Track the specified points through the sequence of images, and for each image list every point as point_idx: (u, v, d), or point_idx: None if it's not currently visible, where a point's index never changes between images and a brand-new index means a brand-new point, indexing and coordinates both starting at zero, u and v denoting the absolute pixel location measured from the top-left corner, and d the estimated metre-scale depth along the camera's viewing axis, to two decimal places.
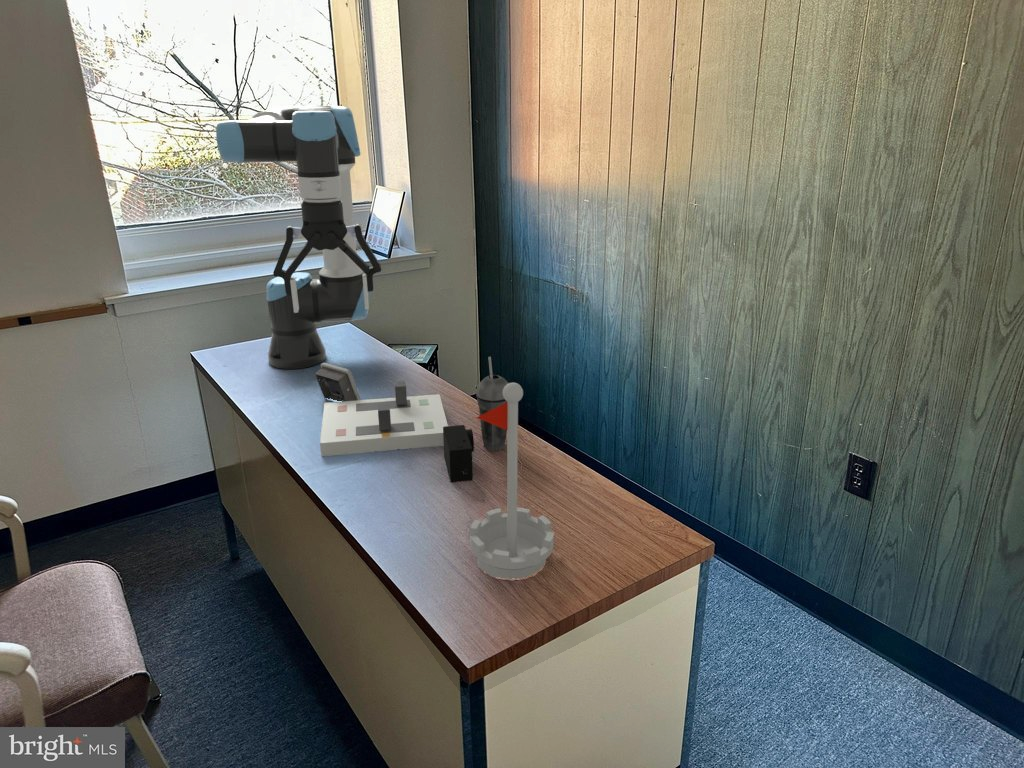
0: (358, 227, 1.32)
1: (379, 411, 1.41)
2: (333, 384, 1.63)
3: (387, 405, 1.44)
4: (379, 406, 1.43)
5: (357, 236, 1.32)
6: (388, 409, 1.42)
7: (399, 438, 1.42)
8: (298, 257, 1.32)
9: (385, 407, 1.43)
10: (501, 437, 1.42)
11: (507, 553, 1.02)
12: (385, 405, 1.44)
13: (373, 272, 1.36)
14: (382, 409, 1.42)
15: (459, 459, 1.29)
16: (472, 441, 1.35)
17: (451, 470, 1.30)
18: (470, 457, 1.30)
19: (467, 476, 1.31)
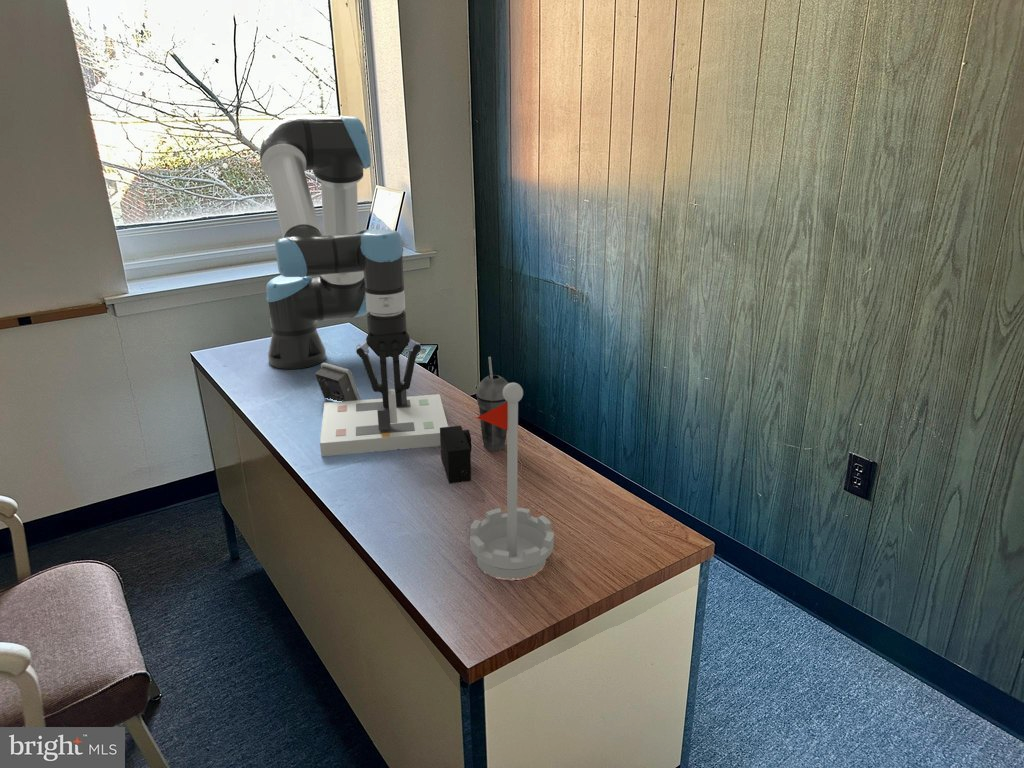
0: (419, 347, 1.38)
1: (378, 411, 1.41)
2: (333, 384, 1.63)
3: None
4: (378, 406, 1.43)
5: (412, 353, 1.39)
6: (387, 409, 1.42)
7: (399, 438, 1.42)
8: (382, 371, 1.39)
9: None
10: (501, 437, 1.42)
11: (507, 553, 1.02)
12: None
13: (401, 391, 1.42)
14: (381, 409, 1.42)
15: (457, 460, 1.29)
16: (469, 442, 1.35)
17: (449, 471, 1.29)
18: (468, 458, 1.29)
19: (465, 477, 1.31)
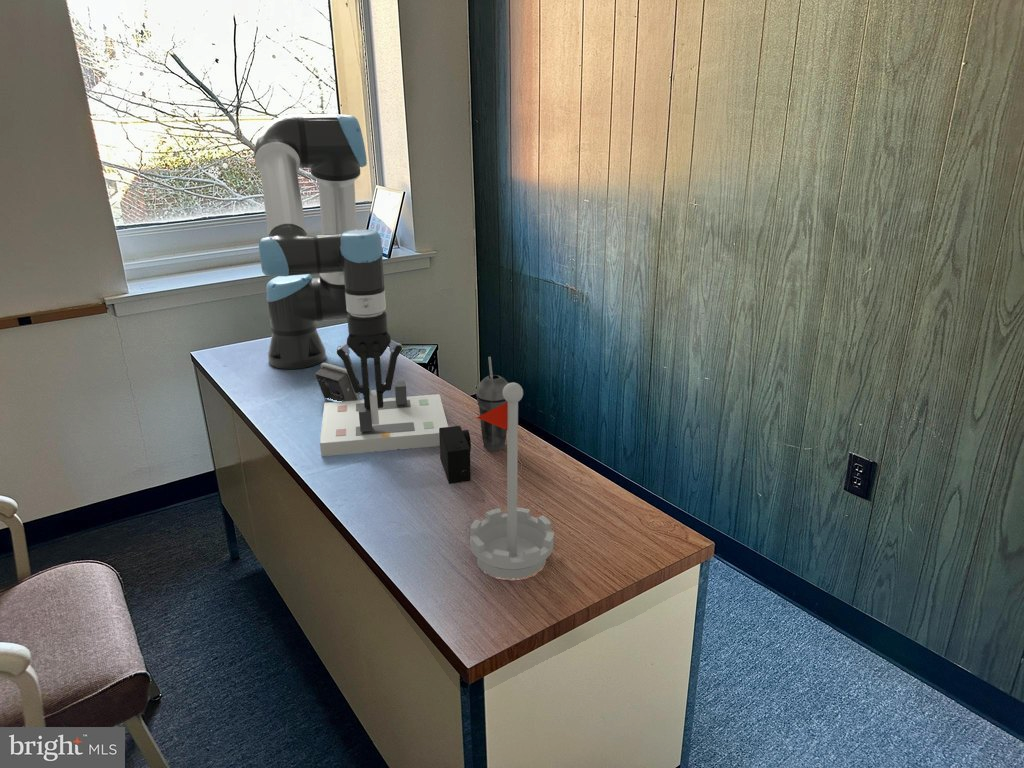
0: (400, 348, 1.38)
1: (360, 413, 1.41)
2: (333, 384, 1.63)
3: None
4: (360, 407, 1.42)
5: (393, 354, 1.38)
6: (369, 410, 1.41)
7: (399, 438, 1.42)
8: (363, 372, 1.38)
9: None
10: (501, 437, 1.42)
11: (507, 553, 1.02)
12: None
13: (382, 393, 1.41)
14: (363, 410, 1.41)
15: (457, 460, 1.29)
16: (469, 442, 1.35)
17: (449, 471, 1.29)
18: (468, 458, 1.29)
19: (465, 477, 1.31)
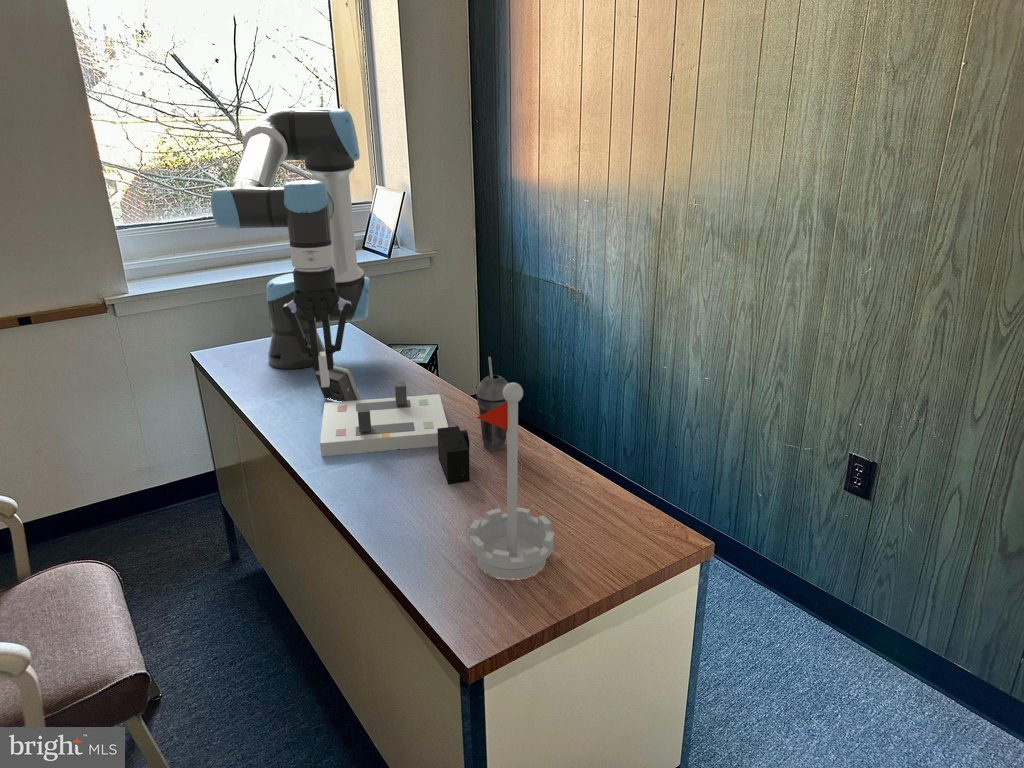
0: (349, 306, 1.32)
1: (359, 413, 1.41)
2: (333, 384, 1.63)
3: (367, 407, 1.43)
4: (359, 408, 1.42)
5: (342, 312, 1.32)
6: (368, 411, 1.41)
7: (399, 438, 1.42)
8: (310, 331, 1.32)
9: (365, 409, 1.42)
10: (501, 437, 1.42)
11: (507, 553, 1.02)
12: (365, 407, 1.43)
13: (332, 353, 1.35)
14: (362, 411, 1.41)
15: (456, 461, 1.29)
16: (468, 442, 1.34)
17: (448, 472, 1.29)
18: (467, 458, 1.29)
19: (464, 477, 1.31)
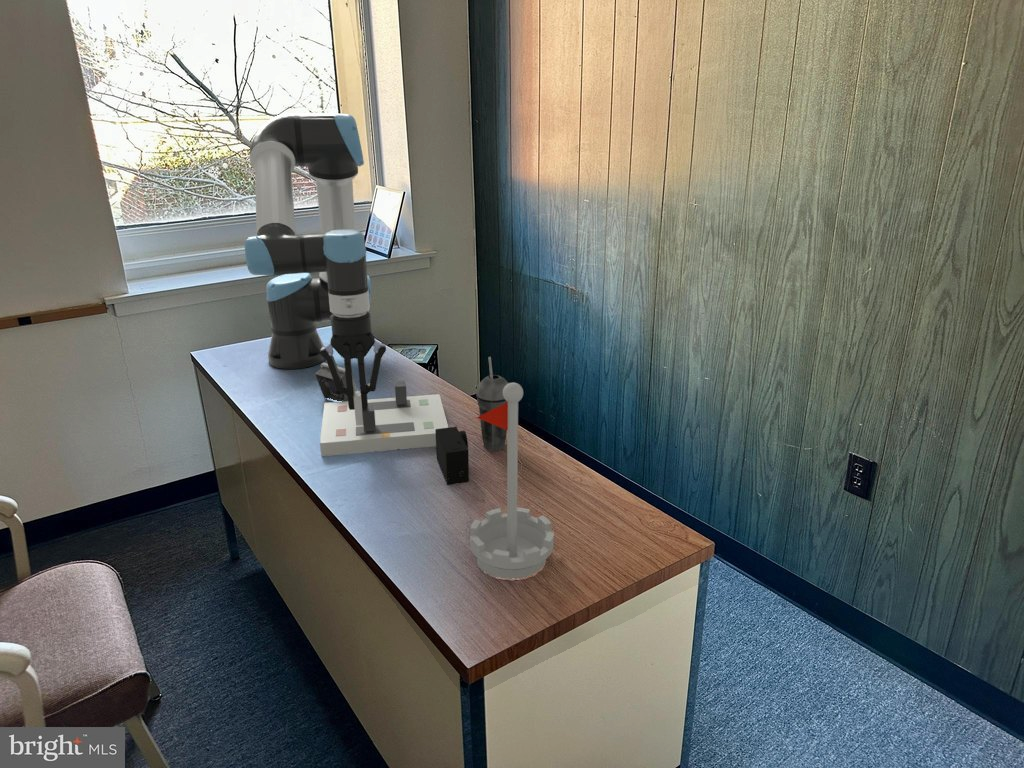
0: (384, 349, 1.37)
1: (363, 412, 1.41)
2: (333, 384, 1.63)
3: (372, 406, 1.43)
4: None
5: (377, 354, 1.37)
6: (373, 410, 1.41)
7: (399, 438, 1.42)
8: (346, 373, 1.37)
9: (370, 408, 1.42)
10: (501, 437, 1.42)
11: (507, 553, 1.02)
12: (370, 406, 1.43)
13: (366, 393, 1.40)
14: (366, 410, 1.41)
15: (455, 461, 1.28)
16: (466, 442, 1.34)
17: (448, 472, 1.29)
18: (466, 459, 1.29)
19: (463, 478, 1.30)
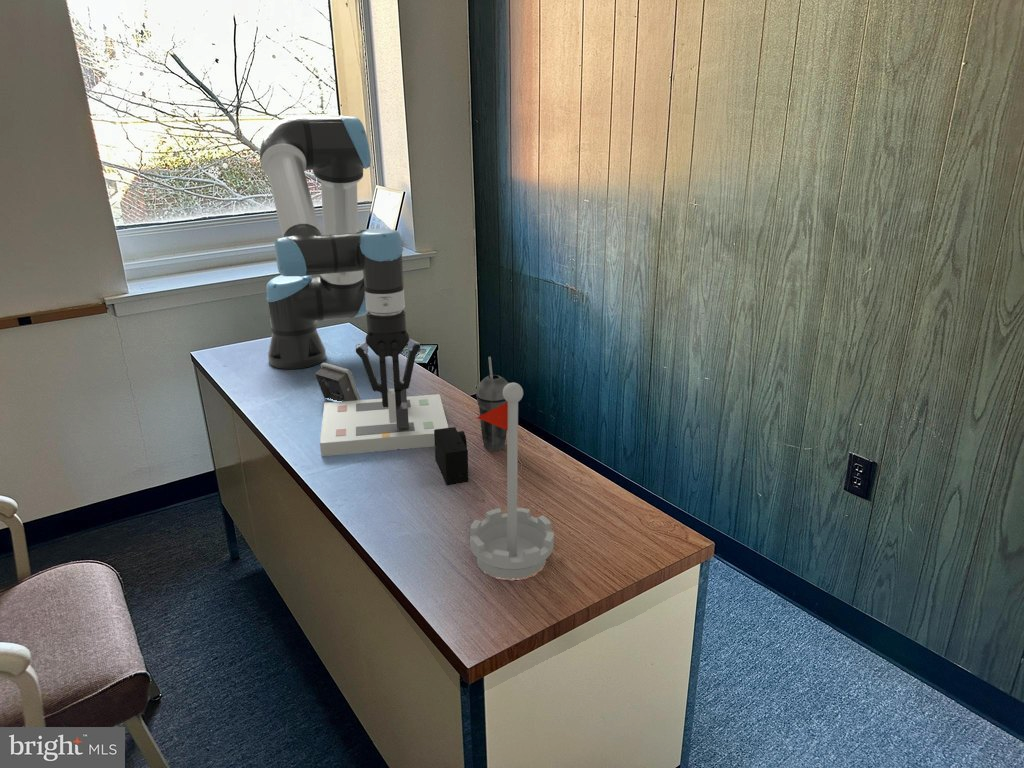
0: (418, 347, 1.38)
1: (397, 410, 1.42)
2: (333, 384, 1.63)
3: (405, 404, 1.44)
4: None
5: (412, 352, 1.38)
6: (406, 408, 1.43)
7: (399, 438, 1.42)
8: (381, 370, 1.38)
9: (403, 406, 1.43)
10: (501, 437, 1.42)
11: (507, 553, 1.02)
12: (403, 404, 1.44)
13: (400, 391, 1.41)
14: (400, 408, 1.42)
15: (455, 461, 1.28)
16: (465, 443, 1.34)
17: (447, 473, 1.29)
18: (466, 459, 1.29)
19: (463, 478, 1.30)
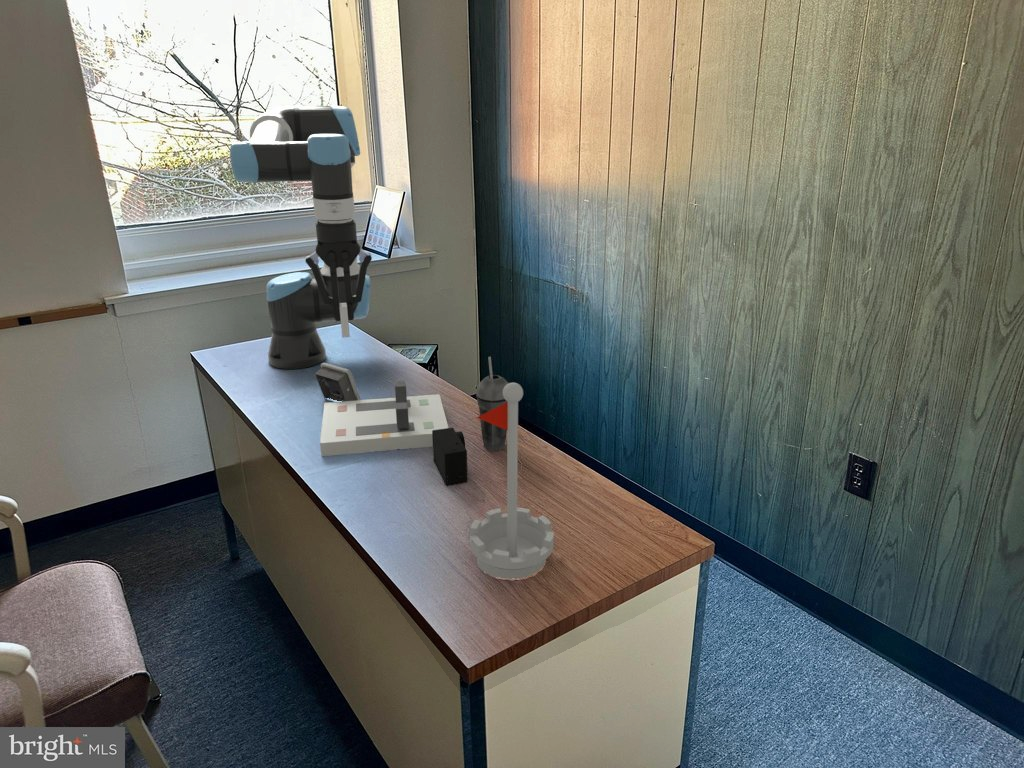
0: (369, 258, 1.37)
1: (397, 410, 1.42)
2: (333, 384, 1.63)
3: (405, 404, 1.44)
4: (397, 405, 1.44)
5: (363, 263, 1.37)
6: (406, 408, 1.43)
7: (399, 438, 1.42)
8: (332, 282, 1.37)
9: (403, 406, 1.43)
10: (501, 437, 1.42)
11: (507, 553, 1.02)
12: (403, 404, 1.44)
13: (352, 304, 1.40)
14: (400, 408, 1.42)
15: (454, 462, 1.28)
16: (463, 443, 1.34)
17: (446, 473, 1.29)
18: (465, 459, 1.29)
19: (462, 479, 1.30)
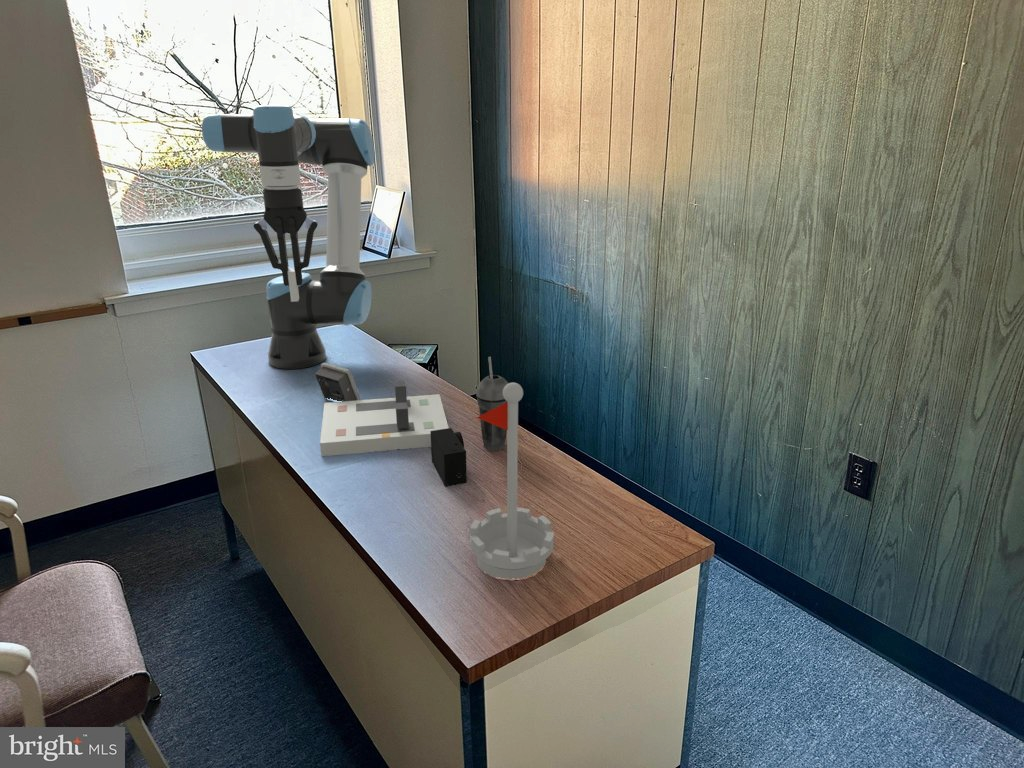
0: (315, 224, 1.44)
1: (397, 410, 1.42)
2: (333, 384, 1.63)
3: (405, 404, 1.44)
4: (397, 405, 1.44)
5: (309, 229, 1.44)
6: (406, 408, 1.43)
7: (399, 438, 1.42)
8: (280, 247, 1.44)
9: (403, 406, 1.43)
10: (501, 437, 1.42)
11: (507, 553, 1.02)
12: (403, 404, 1.44)
13: (300, 270, 1.47)
14: (400, 408, 1.42)
15: (453, 463, 1.28)
16: (462, 444, 1.34)
17: (446, 474, 1.28)
18: (464, 460, 1.29)
19: (461, 479, 1.30)
